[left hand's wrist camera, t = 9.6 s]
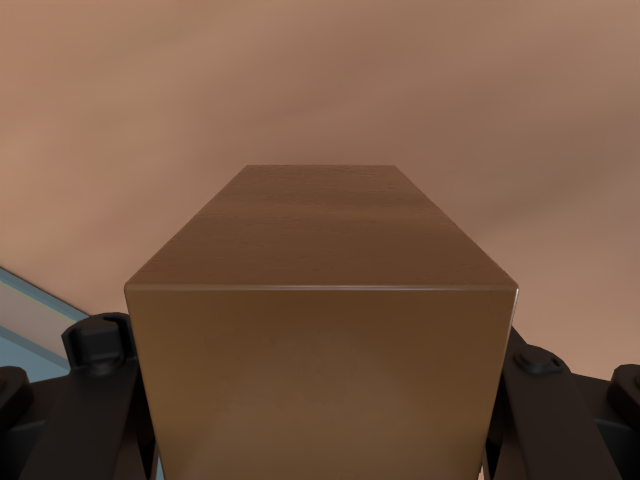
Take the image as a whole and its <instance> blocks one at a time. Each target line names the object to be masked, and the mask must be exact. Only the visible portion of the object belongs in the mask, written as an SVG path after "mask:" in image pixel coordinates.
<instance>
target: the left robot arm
mask: <svg viewBox="0 0 640 480" xmlns="http://www.w3.org/2000/svg"><path fill="white" fill-rule="evenodd" d="M61 338H62V341H63V345H64V348H65V351H66V355H67V358H68V361H69V365H70V368H71V370H70V372H69V374H68V375H65V376H61V377H56V378H51V379H47V380H42V381H37V382H32V383H30V381H29V379H28V376H27V373H26V371H25V370H23V369H22V368H21V367H16V366H3V367H0V480H156V475H157V466H158V458H159V453H158V448H157V444H156V439H155V434H154V429H153V425H152V420H151V415H150V411H149V406H148V401H147V397H146V392H145V387H144V383H143V378H142V373H141V368H140V364H139V359H138V354H137V350H136V345H135V340H134V336H133V331H132V326H131V321H130V317H129V315H128V314H124V313H119V312H112V313H102V314H98V315H93V316H90V317H88V318H85V319H83V320H80V321H78V322H76V323H75V324H73V325H71V326H70V327H68V328H67V329H66V330H65V331H64V332H63V333H62V335H61ZM482 465H483V474H484V480H640V365H636V364H627V365H620V366H619V367H617V368H616V369H615V370H614V373H613V376H612V378H611V381H607V380H602V379H597V378H592V377H587V376H582V375H578V374H574V373H571V371H570V369H569V368H568V366H567V365H566V364H565V363H564V361H563V360H562V359H560V358H559V357H557V356H556V355H555V354H553V353H551V352H549V351H547V350H545V349H543V348H540V347H537V346H533V345H529V344H527V343H526V342H525V341H524V340H523V338H522V337H521V336H520V335H519V334H518V332H517V331H516V330H515V329H514V328H513V326H511V330H510V335H509V339H508V344H507V348H506V353H505V358H504V362H503V367H502V371H501V376H500V380H499V385H498V389H497V394H496V399H495V403H494V408H493V412H492V417H491V421H490V426H489V431H488V435H487V440H486V444H485V449H484V453H483V458H482V463H481V467H480V472H481V468H482ZM480 472H479V473H480Z"/></svg>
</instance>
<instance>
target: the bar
mask: <svg viewBox="0 0 640 480" xmlns="http://www.w3.org/2000/svg"><path fill="white" fill-rule="evenodd" d="M124 293H125V298H126V303H127V307H128V312H129V317H130V321H131V326H132V331H133V336H134V340H135V345H136V350H137V354H138V359H139V364H140V368H141V373H142V378H143V383H144V387H145V392H146V397H147V401H148V406H149V411H150V415H151V420H152V425H153V429H154V434H155V439H156V444H157V448H158V453H159V458H160V462H161V467H162V472H163V476H164V480H478V476H479V472H480V467H481V463H482V458H483V453H484V449H485V444H486V440H487V435H488V431H489V426H490V421H491V417H492V412H493V408H494V403H495V399H496V394H497V389H498V385H499V380H500V376H501V371H502V367H503V362H504V358H505V353H506V348H507V344H508V339H509V335H510V330H511V326H512V321H513V316H514V312H515V307H516V303H517V298H518V294H519V286H518V284H517V283H516V282H515V281H514V280H513V279H512V278H511V277H510V276H509V275H508V274H507V273H506V272H505V271H504V270H503V269H502V268H501V267H500V266H499V265H497V264H496V263H495V262H494V261H493V260H492V259H491V258H490V257H489V256H488V255H487V254H486V253H485V252H484V251H483V250H482V249H481V248H480V247H479V246H478V245H477V244H476V243H475V242H474V241H473V240H471V239H470V238H469V237H468V236H467V235H466V234H465V233H464V232H463V231H462V230H461V229H460V228H459V227H458V226H457V225H456V224H455V223H454V222H453V221H452V220H451V219H450V218H449V217H448V216H447V215H446V214H444V213H443V212H442V211H441V210H440V209H439V208H438V207H437V206H436V205H435V204H434V203H433V202H432V201H431V200H430V199H429V198H428V197H427V196H426V195H425V194H424V193H423V192H422V191H421V190H420V189H418V188H417V187H416V186H415V185H414V184H413V183H412V182H411V181H410V180H409V179H408V178H407V177H406V176H405V175H404V174H403V173H402V172H401V171H400V170H399V169H398V168H397V167H396V166H346V165H247V166H245V167H244V168H243V169H242V170H241V171H240V172H239V173H238V174H237V175H236V176H235V177H234V178H233V179H232V180H231V181H230V182H229V183H228V184H227V185H226V186H225V187H224V188H223V189H222V190H221V191H220V192H219V193H218V194H217V195H216V196H215V197H214V198H213V199H212V200H211V201H210V202H208V203H207V204H206V205H205V206H204V207H203V208H202V209H201V210H200V211H199V212H198V213H197V214H196V215H195V216H194V217H193V218H192V219H191V220H190V221H189V222H188V223H187V224H186V225H185V226H184V227H183V228H182V229H181V230H180V231H179V232H178V233H177V234H176V235H175V236H174V237H173V238H171V239H170V240H169V241H168V242H167V243H166V244H165V245H164V246H163V247H162V248H161V249H160V250H159V251H158V252H157V253H156V254H155V255H154V256H153V257H152V258H151V259H150V260H149V261H148V262H147V263H146V264H145V265H144V266H143V267H142V268H141V269H140V270H139V271H138V272H137V273H136V274H135V275H133V276H132V277H131V278H130V279H129V280H128V281H127V282H126V283H125V286H124Z"/></svg>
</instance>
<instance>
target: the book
mask: <svg viewBox="0 0 640 480" xmlns="http://www.w3.org/2000/svg"><path fill="white" fill-rule="evenodd" d="M88 317H89V316H87V315H86V314H84V313H82V312H80V311H78V310H76V309H75V308H73V307H71V306H69V305H67V304H65V303H63V302H62V301H60V300H58V299H56V298H54V297H52V296H51V295H49V294H47V293H45V292H43V291H41V290H39V289H38V288H36V287H34V286H32V285H30V284H28V283H27V282H25V281H23V280H21V279H19V278H17V277H15V276H14V275H12V274H10V273H8V272H6V271H4V270H3V269H1V268H0V367H3V366H16V367H21V368H22V369H23V370H25V371H26V373H27V376H28V379H29V381H30V383H32V382H37V381H42V380H47V379H51V378H56V377H61V376H65V375H68V374H69V372H70V370H71V368H70V365H69V361H68V358H67V355H66V351H65V348H64V345H63V341H62V338H61V335H62V333H63V332H64V331H65V330H66V329H67V328H68V327H70V326H71V325H73V324H75V323H76V322H78V321H80V320H83V319H85V318H88ZM156 480H164V476H163V472H162V467H161V462H160V458H158V466H157V475H156Z"/></svg>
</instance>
